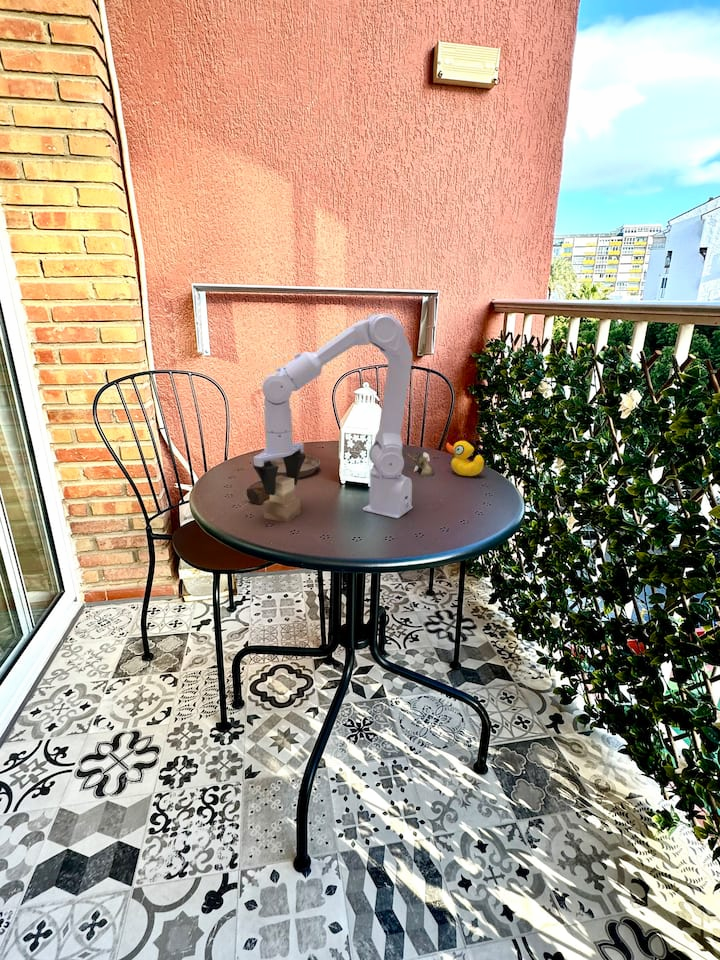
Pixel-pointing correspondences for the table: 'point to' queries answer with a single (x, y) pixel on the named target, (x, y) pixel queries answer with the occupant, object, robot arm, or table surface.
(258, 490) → the brick
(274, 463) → the plant saucer
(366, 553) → the table surface
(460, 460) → the duckling
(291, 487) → the beech block
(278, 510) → the tan wooden block
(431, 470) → the eagle figurine
